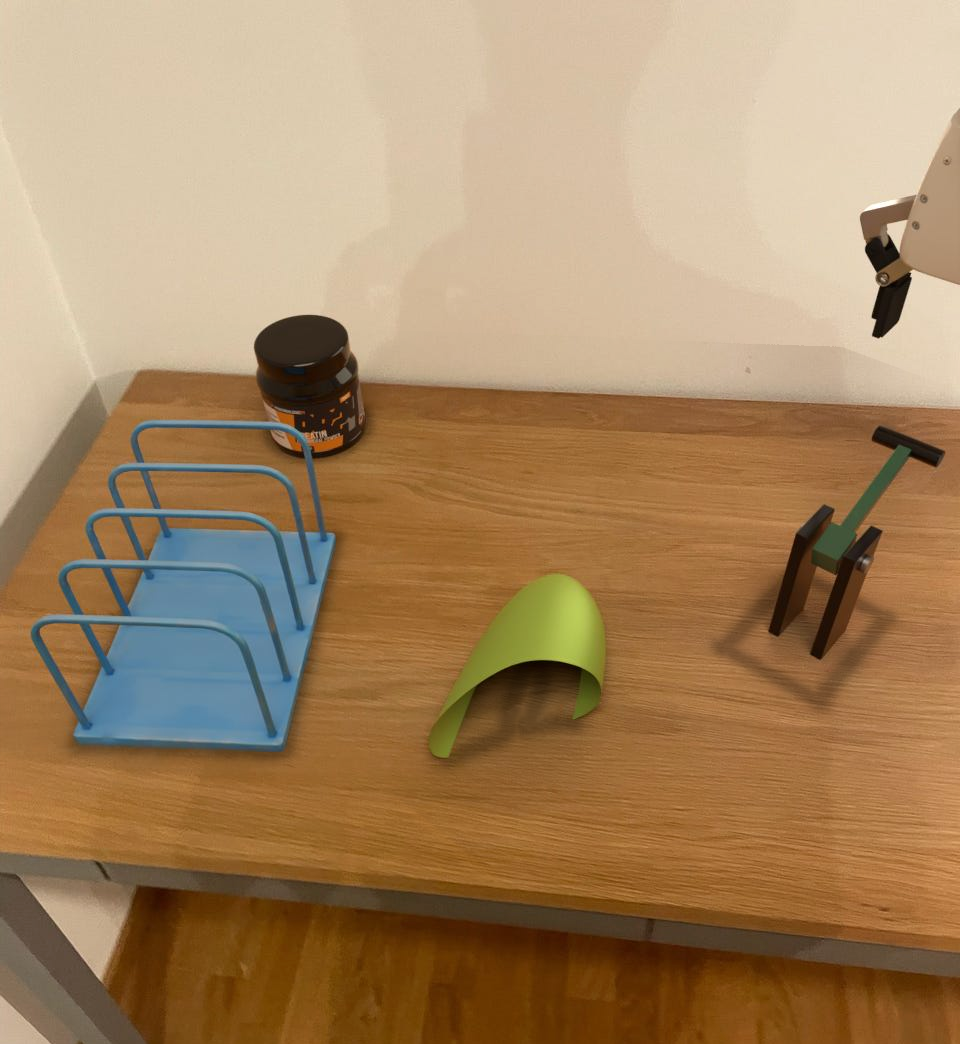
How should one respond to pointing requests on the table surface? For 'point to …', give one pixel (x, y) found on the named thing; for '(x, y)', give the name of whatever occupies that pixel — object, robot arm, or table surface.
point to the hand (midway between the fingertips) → (946, 351)
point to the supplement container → (310, 384)
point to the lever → (871, 495)
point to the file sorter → (201, 620)
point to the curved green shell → (532, 648)
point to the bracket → (843, 589)
